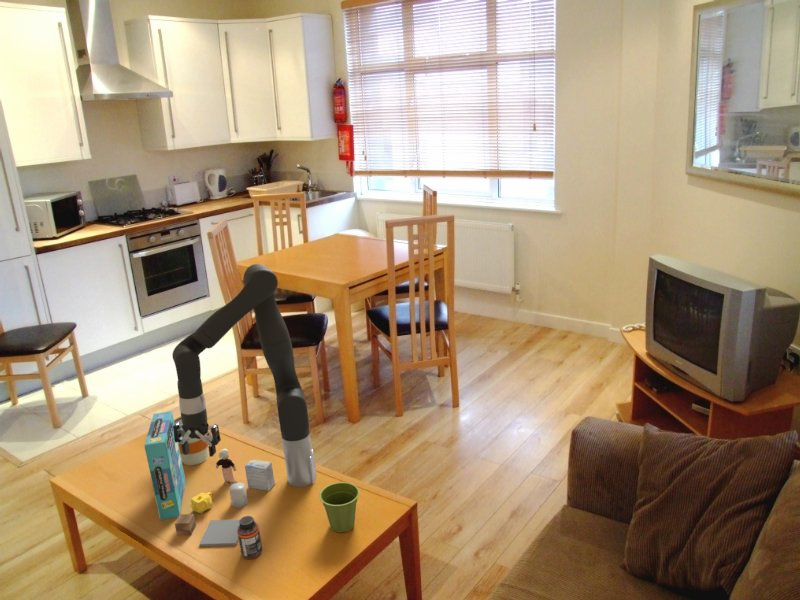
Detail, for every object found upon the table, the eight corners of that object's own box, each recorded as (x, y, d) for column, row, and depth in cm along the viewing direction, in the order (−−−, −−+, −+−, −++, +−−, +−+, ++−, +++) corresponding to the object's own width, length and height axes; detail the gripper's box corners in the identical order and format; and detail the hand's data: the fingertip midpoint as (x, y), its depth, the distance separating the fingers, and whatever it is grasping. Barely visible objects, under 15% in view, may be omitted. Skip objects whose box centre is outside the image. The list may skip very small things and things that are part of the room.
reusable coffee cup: (186, 449, 249) (179, 413, 244) (218, 449, 247) (212, 413, 242) (171, 467, 237) (163, 430, 232) (204, 468, 235) (197, 431, 231)
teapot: (198, 520, 207) (195, 505, 206) (187, 513, 211) (184, 499, 209) (219, 506, 213) (216, 493, 212) (208, 500, 217) (205, 487, 215)
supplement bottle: (243, 547, 194) (237, 514, 190) (263, 544, 194) (258, 512, 190) (240, 561, 188) (234, 527, 184) (261, 558, 188) (255, 525, 185)
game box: (167, 484, 227) (152, 413, 219) (186, 481, 228) (172, 410, 220) (159, 520, 208) (142, 444, 200) (180, 517, 209) (164, 441, 201)
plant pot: (348, 542, 192) (345, 509, 189) (315, 531, 198) (311, 499, 194) (370, 518, 202) (366, 487, 198) (337, 509, 208) (334, 478, 204)
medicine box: (275, 484, 223) (272, 461, 220) (268, 491, 219) (265, 468, 216) (254, 480, 226) (251, 458, 223) (248, 488, 222) (244, 465, 219)
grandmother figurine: (241, 478, 227) (236, 446, 223) (238, 485, 224) (232, 452, 220) (220, 479, 228) (214, 446, 224) (216, 485, 225) (210, 452, 221)
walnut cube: (196, 526, 205) (193, 513, 203) (191, 535, 200) (188, 523, 199) (182, 526, 205) (179, 514, 204) (177, 535, 201) (174, 523, 199)
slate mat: (246, 521, 205) (245, 519, 205) (236, 545, 195) (236, 542, 194) (211, 522, 206) (210, 520, 205) (199, 546, 195) (199, 544, 195)
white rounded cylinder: (249, 498, 216) (246, 482, 215) (245, 507, 212) (242, 491, 210) (234, 498, 217) (231, 482, 215) (230, 508, 212) (227, 492, 210)
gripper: (220, 403, 205) (226, 449, 210) (177, 400, 208) (184, 446, 213) (209, 414, 198) (215, 462, 203) (165, 412, 201) (172, 459, 206)
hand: (199, 454), depth 208 cm, fingers open, 8 cm apart
